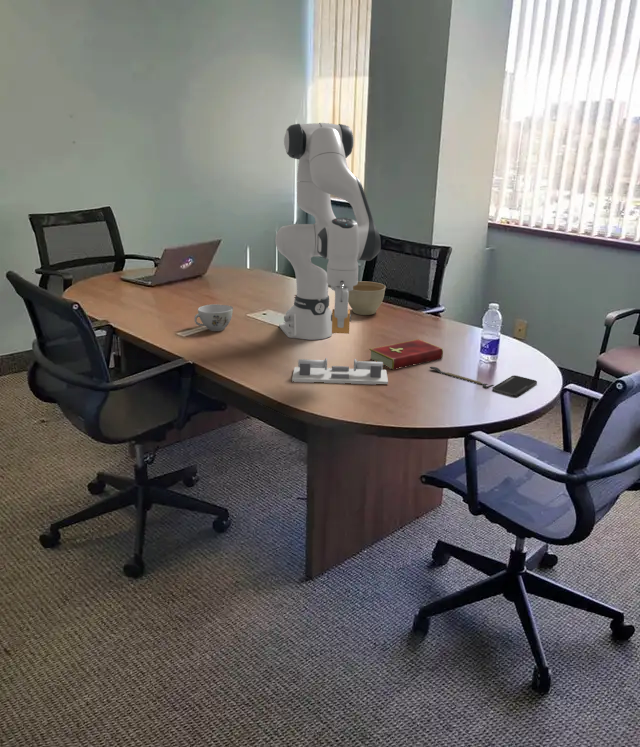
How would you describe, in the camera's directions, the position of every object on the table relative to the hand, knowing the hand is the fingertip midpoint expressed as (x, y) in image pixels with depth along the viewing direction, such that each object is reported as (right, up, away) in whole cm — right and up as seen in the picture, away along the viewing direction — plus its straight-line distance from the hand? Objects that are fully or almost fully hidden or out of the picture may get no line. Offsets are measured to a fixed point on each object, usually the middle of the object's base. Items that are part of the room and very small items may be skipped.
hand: (340, 324), depth 193 cm
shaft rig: (0, -15, +6) cm, 17 cm away
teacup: (-45, +1, +49) cm, 67 cm away
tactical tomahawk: (+37, -16, +8) cm, 41 cm away
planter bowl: (+12, +10, +75) cm, 77 cm away
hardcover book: (+22, -10, +23) cm, 33 cm away
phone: (+51, -19, +1) cm, 54 cm away
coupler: (0, -2, +1) cm, 2 cm away
